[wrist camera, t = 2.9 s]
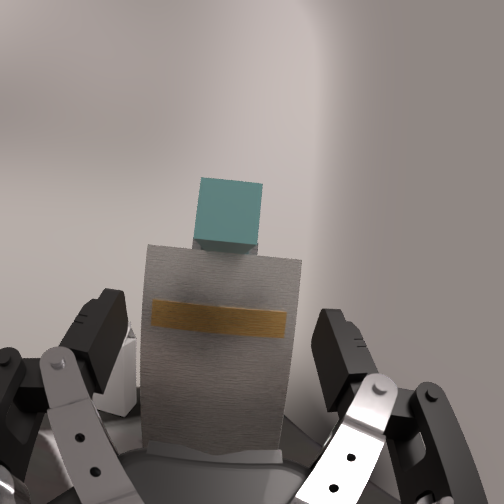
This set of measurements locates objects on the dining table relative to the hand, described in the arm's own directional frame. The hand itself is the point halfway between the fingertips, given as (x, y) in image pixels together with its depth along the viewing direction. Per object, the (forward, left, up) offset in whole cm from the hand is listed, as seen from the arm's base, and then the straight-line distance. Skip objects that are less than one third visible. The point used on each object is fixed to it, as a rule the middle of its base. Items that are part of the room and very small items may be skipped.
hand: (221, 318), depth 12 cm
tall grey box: (-16, +19, -29) cm, 38 cm away
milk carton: (-42, +19, -29) cm, 55 cm away
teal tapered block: (-12, +14, +3) cm, 18 cm away
